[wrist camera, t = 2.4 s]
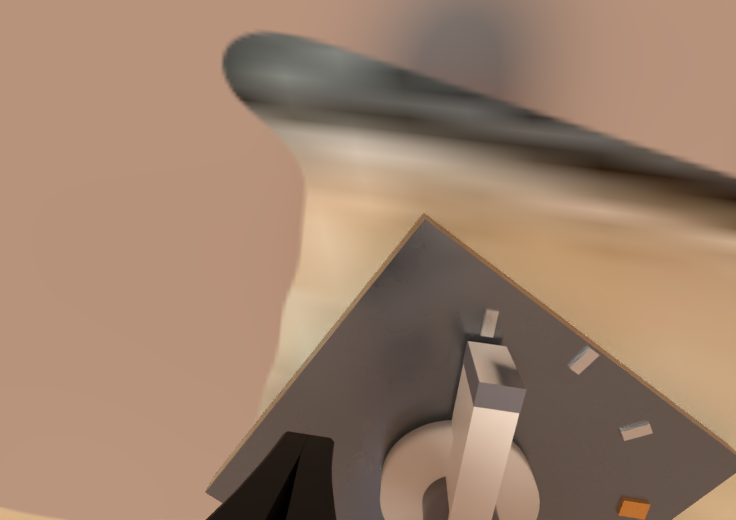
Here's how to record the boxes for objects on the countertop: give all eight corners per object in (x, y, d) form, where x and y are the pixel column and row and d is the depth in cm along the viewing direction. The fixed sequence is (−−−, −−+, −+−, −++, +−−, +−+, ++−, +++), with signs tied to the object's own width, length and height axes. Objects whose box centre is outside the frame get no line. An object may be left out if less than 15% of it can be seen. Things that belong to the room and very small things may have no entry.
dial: (513, 549, 21) (532, 621, 18) (373, 526, 21) (367, 592, 18) (571, 353, 18) (605, 400, 15) (403, 329, 18) (402, 371, 15)
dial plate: (472, 637, 25) (476, 665, 24) (215, 474, 23) (203, 494, 22) (728, 444, 20) (750, 466, 19) (423, 213, 18) (425, 219, 17)
